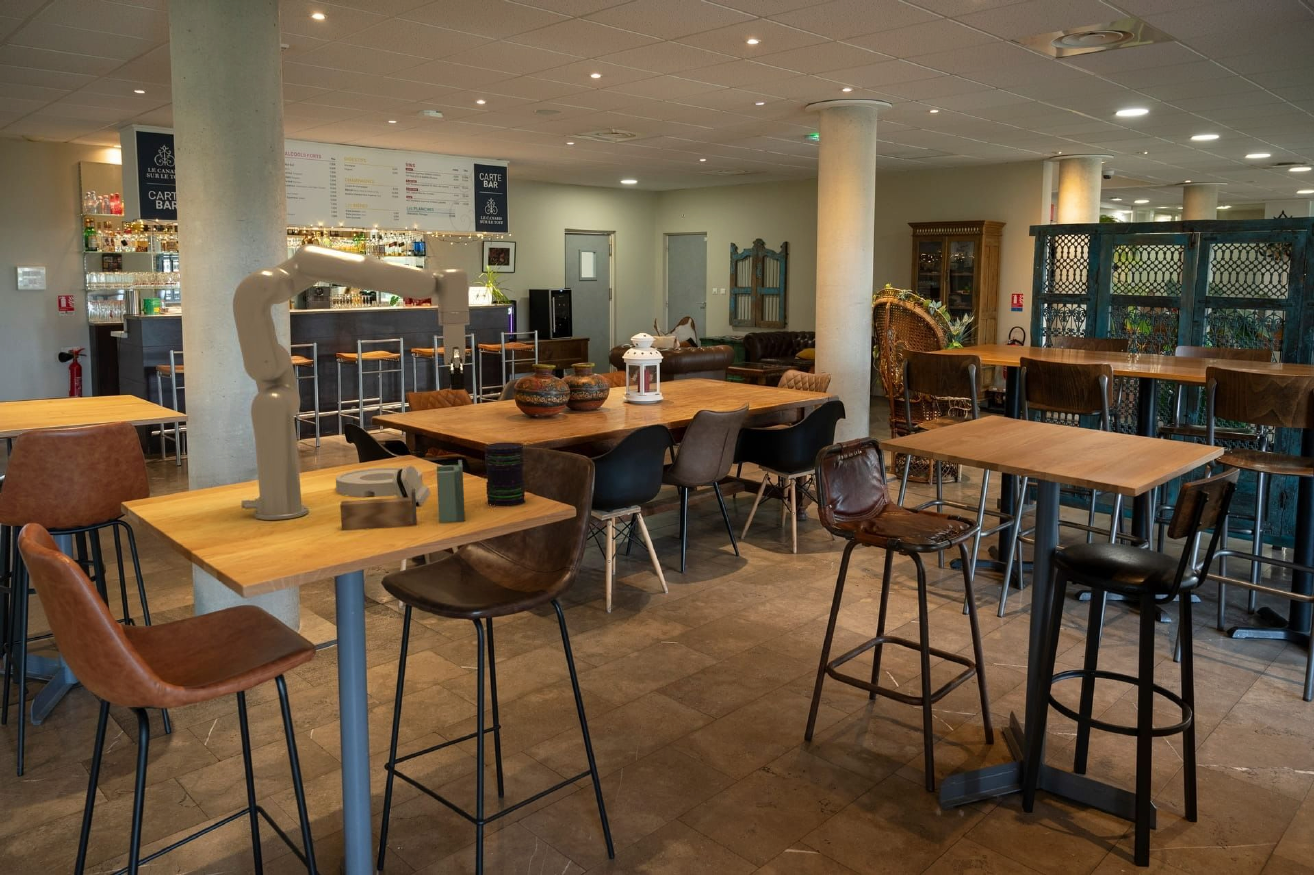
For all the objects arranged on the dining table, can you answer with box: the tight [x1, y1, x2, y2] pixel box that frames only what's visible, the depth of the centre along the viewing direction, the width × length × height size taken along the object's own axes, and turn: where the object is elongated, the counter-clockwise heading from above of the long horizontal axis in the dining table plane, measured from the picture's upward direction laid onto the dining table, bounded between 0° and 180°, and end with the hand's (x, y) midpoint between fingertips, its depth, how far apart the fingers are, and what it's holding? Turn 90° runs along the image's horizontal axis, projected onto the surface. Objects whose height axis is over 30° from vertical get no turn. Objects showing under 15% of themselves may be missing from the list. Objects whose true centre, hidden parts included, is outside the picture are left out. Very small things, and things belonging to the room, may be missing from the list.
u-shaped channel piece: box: [436, 459, 466, 524], centre depth 235 cm, size 6×10×13 cm, turn 13°
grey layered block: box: [392, 465, 431, 507], centre depth 255 cm, size 17×5×10 cm, turn 5°
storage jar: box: [484, 442, 526, 507], centre depth 250 cm, size 10×10×15 cm
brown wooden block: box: [339, 489, 418, 531], centre depth 228 cm, size 17×4×8 cm, turn 103°
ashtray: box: [335, 467, 423, 498], centre depth 271 cm, size 23×23×4 cm
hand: (457, 387), depth 244 cm, fingers open, 9 cm apart
